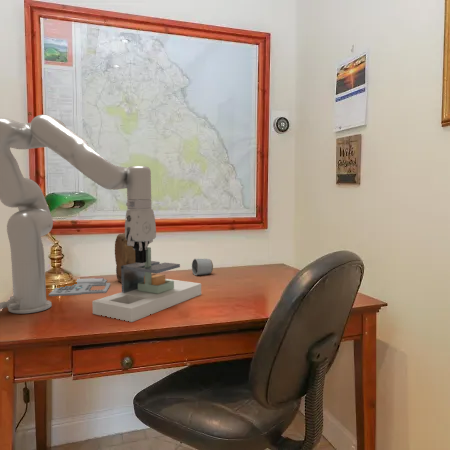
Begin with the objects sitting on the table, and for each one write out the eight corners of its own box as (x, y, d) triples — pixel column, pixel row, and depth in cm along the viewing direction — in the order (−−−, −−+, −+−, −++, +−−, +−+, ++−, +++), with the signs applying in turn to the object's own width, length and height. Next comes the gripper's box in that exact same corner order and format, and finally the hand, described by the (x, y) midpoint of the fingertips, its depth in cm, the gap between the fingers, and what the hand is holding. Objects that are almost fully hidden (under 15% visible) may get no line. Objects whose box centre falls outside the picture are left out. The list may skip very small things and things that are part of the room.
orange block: (155, 292, 135) (155, 277, 135) (144, 291, 138) (144, 276, 138) (165, 289, 140) (165, 275, 139) (154, 287, 142) (153, 273, 142)
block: (142, 282, 168) (141, 234, 167) (125, 285, 163) (124, 235, 162) (129, 278, 177) (128, 231, 175) (113, 280, 172) (111, 233, 170)
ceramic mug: (214, 275, 183) (213, 258, 182) (198, 276, 179) (197, 260, 178) (204, 271, 192) (204, 255, 191) (188, 273, 188) (188, 257, 187)
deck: (131, 322, 118) (131, 308, 118) (92, 313, 126) (92, 301, 126) (201, 294, 149) (201, 283, 149) (166, 289, 157) (166, 278, 157)
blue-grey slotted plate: (62, 277, 170) (112, 275, 173) (63, 283, 170) (112, 281, 173) (48, 290, 147) (105, 288, 150) (48, 297, 147) (106, 295, 151)
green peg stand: (157, 294, 133) (156, 248, 132) (137, 290, 138) (136, 247, 136) (174, 288, 141) (173, 245, 140) (154, 285, 145) (153, 243, 144)
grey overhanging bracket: (157, 298, 128) (156, 270, 128) (121, 292, 136) (121, 265, 135) (180, 290, 139) (179, 264, 138) (146, 285, 146) (145, 260, 145)
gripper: (131, 206, 122) (133, 267, 124) (163, 204, 135) (164, 259, 137) (113, 206, 126) (115, 265, 128) (146, 204, 139) (147, 258, 140)
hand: (140, 262), depth 132 cm, fingers closed
